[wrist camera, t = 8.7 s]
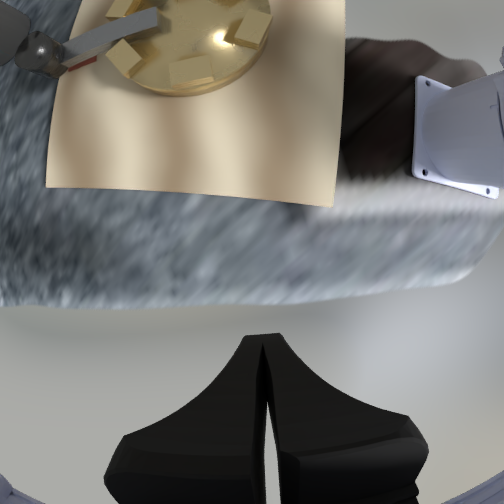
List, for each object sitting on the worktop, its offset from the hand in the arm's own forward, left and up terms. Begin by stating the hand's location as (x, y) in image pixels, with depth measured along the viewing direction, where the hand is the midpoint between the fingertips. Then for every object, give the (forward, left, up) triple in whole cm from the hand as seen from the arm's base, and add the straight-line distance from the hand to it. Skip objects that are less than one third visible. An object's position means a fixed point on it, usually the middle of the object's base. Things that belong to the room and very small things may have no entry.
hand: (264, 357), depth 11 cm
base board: (+6, -16, -10) cm, 20 cm away
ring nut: (+9, -15, -9) cm, 20 cm away
